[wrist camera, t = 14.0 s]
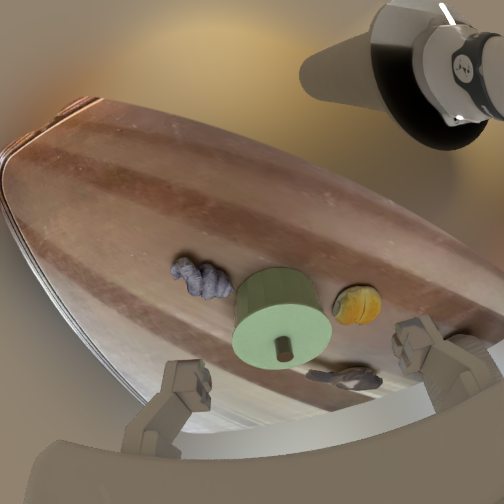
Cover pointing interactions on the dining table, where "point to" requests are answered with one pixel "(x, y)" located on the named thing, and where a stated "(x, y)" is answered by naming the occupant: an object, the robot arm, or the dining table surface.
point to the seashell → (202, 279)
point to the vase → (473, 347)
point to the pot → (274, 291)
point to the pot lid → (281, 335)
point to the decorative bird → (348, 378)
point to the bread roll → (357, 305)
